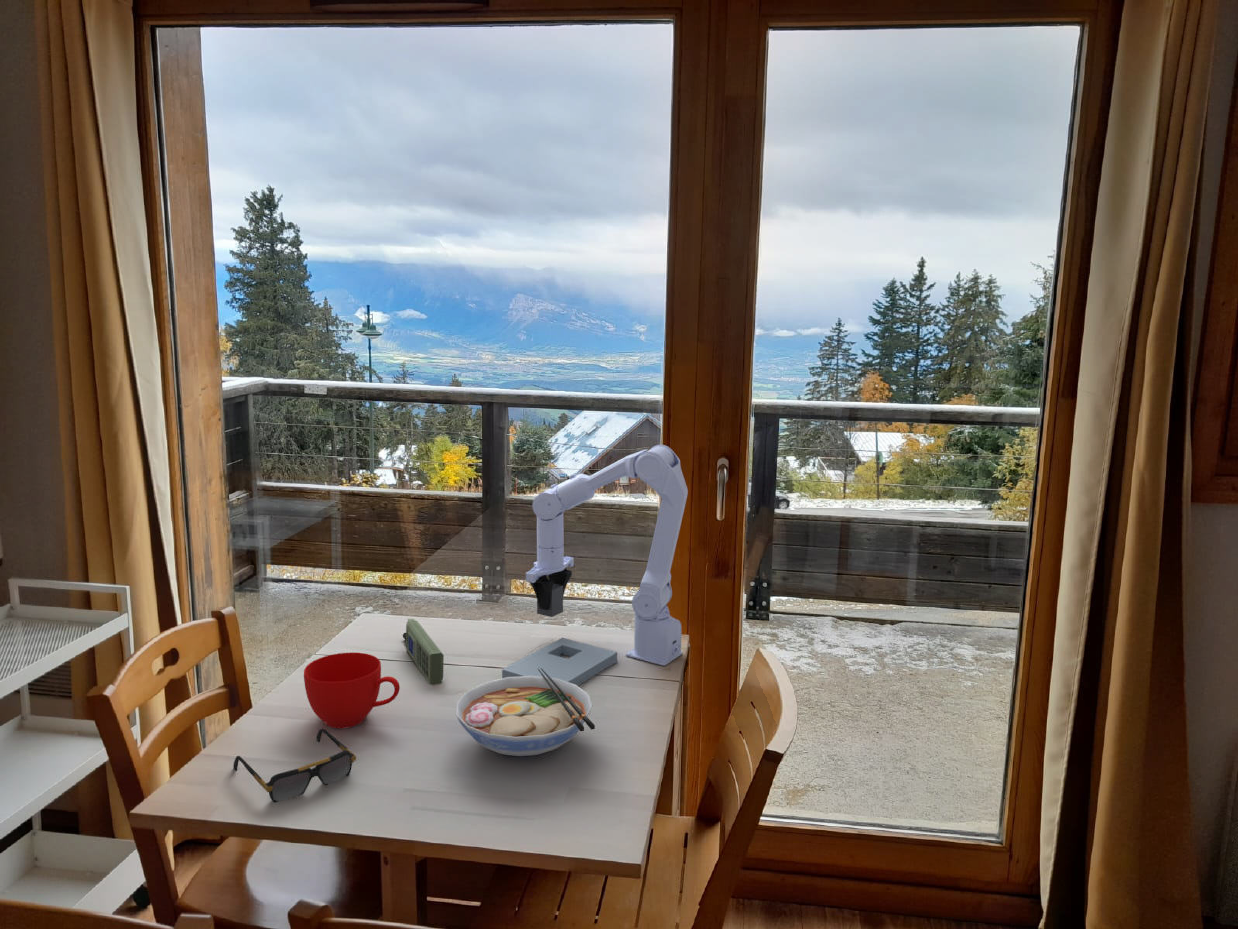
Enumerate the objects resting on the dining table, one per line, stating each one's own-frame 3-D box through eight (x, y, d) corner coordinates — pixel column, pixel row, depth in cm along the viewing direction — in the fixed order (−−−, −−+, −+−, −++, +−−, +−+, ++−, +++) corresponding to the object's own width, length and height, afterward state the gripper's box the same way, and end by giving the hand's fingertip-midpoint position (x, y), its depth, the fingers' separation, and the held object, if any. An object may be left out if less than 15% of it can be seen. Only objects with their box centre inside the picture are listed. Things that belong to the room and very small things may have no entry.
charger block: (563, 611, 195) (562, 585, 194) (551, 617, 192) (551, 590, 191) (548, 608, 197) (548, 582, 196) (537, 613, 194) (536, 587, 193)
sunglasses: (318, 742, 151) (316, 715, 150) (359, 778, 140) (358, 749, 139) (233, 771, 142) (231, 742, 141) (271, 812, 131) (268, 780, 130)
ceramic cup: (383, 744, 150) (381, 688, 148) (291, 733, 154) (288, 678, 152) (415, 709, 163) (414, 657, 161) (330, 700, 166) (327, 649, 164)
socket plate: (617, 661, 185) (617, 652, 185) (559, 696, 169) (559, 686, 168) (562, 646, 193) (562, 637, 192) (502, 679, 176) (502, 669, 176)
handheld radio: (427, 687, 173) (397, 641, 195) (444, 684, 174) (412, 640, 196) (428, 654, 172) (397, 612, 194) (445, 651, 173) (412, 610, 195)
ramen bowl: (443, 722, 158) (441, 679, 156) (566, 703, 166) (566, 661, 165) (472, 796, 135) (471, 746, 134) (614, 769, 143) (615, 722, 142)
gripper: (555, 535, 200) (555, 593, 202) (514, 550, 188) (514, 611, 190) (581, 539, 196) (581, 599, 198) (540, 555, 184) (541, 618, 186)
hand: (550, 605), depth 194 cm, fingers closed on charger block, 4 cm apart
